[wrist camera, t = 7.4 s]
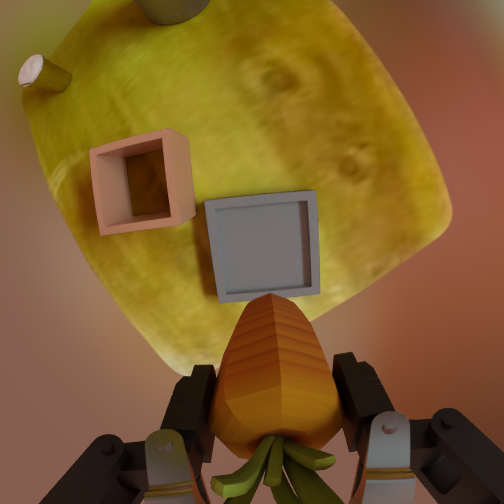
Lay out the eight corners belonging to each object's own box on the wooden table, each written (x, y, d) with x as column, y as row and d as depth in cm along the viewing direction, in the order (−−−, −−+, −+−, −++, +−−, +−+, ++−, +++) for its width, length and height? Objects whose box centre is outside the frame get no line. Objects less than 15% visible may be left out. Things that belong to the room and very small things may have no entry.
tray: (207, 199, 31) (204, 201, 29) (312, 189, 30) (315, 190, 28) (221, 296, 34) (219, 303, 32) (316, 287, 33) (320, 293, 31)
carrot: (233, 330, 19) (201, 548, 4) (229, 264, 17) (157, 512, 3) (303, 329, 19) (353, 541, 4) (307, 262, 17) (415, 493, 3)
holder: (119, 152, 29) (89, 149, 23) (188, 137, 29) (169, 127, 22) (128, 223, 32) (100, 235, 25) (197, 214, 31) (180, 224, 24)
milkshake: (56, 106, 27) (10, 96, 17) (53, 79, 26) (10, 65, 16) (78, 90, 27) (32, 74, 17) (74, 63, 25) (33, 44, 16)
